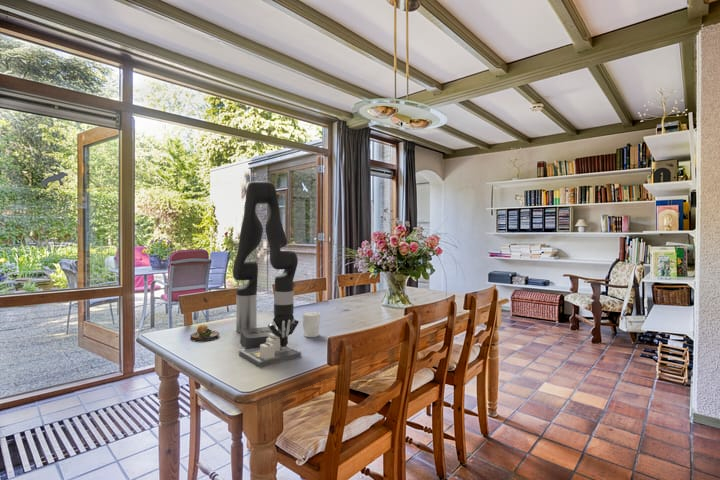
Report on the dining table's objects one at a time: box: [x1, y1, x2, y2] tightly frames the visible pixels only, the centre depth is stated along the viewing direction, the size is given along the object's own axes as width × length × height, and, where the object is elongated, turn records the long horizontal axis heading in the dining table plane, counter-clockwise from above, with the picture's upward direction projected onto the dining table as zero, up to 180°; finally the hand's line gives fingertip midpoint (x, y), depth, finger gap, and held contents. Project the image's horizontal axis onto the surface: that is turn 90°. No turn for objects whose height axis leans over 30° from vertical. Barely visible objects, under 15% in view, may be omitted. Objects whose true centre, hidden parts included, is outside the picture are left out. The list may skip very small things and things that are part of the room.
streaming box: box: [240, 326, 279, 350], centre depth 158 cm, size 14×14×5 cm
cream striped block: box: [260, 342, 275, 360], centre depth 136 cm, size 4×4×5 cm
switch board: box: [238, 345, 302, 368], centre depth 143 cm, size 16×17×2 cm
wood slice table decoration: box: [190, 324, 220, 342], centre depth 165 cm, size 12×12×8 cm
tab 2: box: [266, 336, 280, 352], centre depth 143 cm, size 4×4×5 cm
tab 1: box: [268, 332, 280, 339], centre depth 150 cm, size 4×4×5 cm
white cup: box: [302, 311, 321, 338], centre depth 171 cm, size 8×8×10 cm
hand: (283, 346), depth 146 cm, fingers closed
